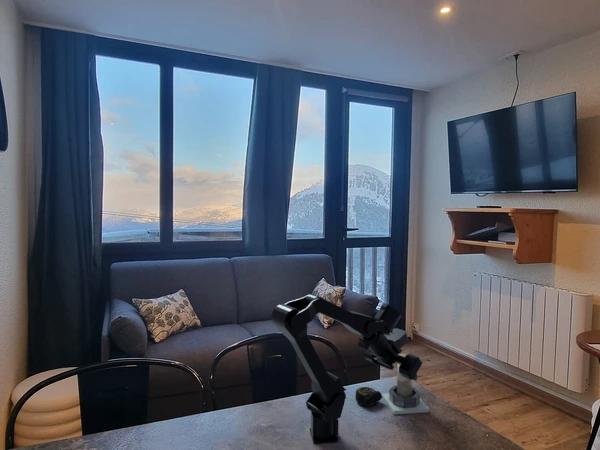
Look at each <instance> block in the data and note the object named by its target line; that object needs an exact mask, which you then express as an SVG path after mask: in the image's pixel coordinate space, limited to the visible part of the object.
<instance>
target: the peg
mask: <svg viewBox="0 0 600 450" xmlns="http://www.w3.org/2000/svg"><path fill="white" fill-rule="evenodd" d="M407 354H408V353H400V354H398V355H400V356H403V357H405V356H406V355H407ZM396 364H397V368H396V369H397V370H396V386H397V395H401V396H404V397H407V396H412V387H413V380H411V379H408V378H406V377H403V376H402V375H401V374H400V373H399V367H400V364H398V363H396Z"/></svg>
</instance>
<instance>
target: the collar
mask: <svg viewBox="0 0 600 450" xmlns="http://www.w3.org/2000/svg"><path fill="white" fill-rule="evenodd" d="M388 393H389V400H390V401H391V402H392V404H394V405H396V406H399V407H402V408H415V407H417V406H418V405H419V404H420V399H421V392H419V390H418V389H417V388H416V387H413V386H412V396H407V397H404V396H401V395H397V385H393V386H392V387H390V388H389V392H388Z"/></svg>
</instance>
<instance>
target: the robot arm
mask: <svg viewBox="0 0 600 450" xmlns="http://www.w3.org/2000/svg"><path fill="white" fill-rule="evenodd" d="M318 314H321V315H323V316H325V317H327V318H329V319H332V320H334V321H337V322H339V323H341V324H342V325H343V327H345V329H347V330H348V331H349V332H350V333H353V334H356V335H359V336H361V337H359V338H358V342H357V347H358V348H360V349H362V350H364V352H363V358H365V360H366V361H368V362H370V363H372V364H375V365H377V366H379V367H382V368H386V369H387V370H391V371H393V370H394V368H395V367H394V364H397V363H398V364H400V367H399V373H400V374H401V375H402V376H403V377H406V378H408V379H411V380H412V381H417V380H418V372H419V370H420V368H421V367H422V365H423V360H422V359H420V357H419V356H416V355H414V354H410V353H406V354H407V355H406V356H405V357H403V356H400V355H398V354H402V352H403V350H402V348H403V346H405V345H406V344H408V342H409V336H408V334H407V331H406V330H403V329H400V328H398V327H397V328H395V327H396V325H397V323H398V321H399V320H400V319H401V317H402V315H401V313H400V311H399V310H397V309H396V308H394V307H392V306H390V305H389V304H388V303H386V302H384V303H382V304H381V306H380V308H379V310H378V311H377V312H376V314H375V316H371V315H366V314H365V313H364V314H363V313H360V312H357V311H353V310H352V311H351V310H348V309H345V308H343V307H342V306H340V305H337V304H335V303H332V302H331V301H328V300H326V299H325V298H323V297H322V296H319V295H316V294H313V293H309V294H306V295H305V296H302V297H300V298H297V299H294V300H290V301H287V302H286V303H280V304H278V305H277V306H275V307H274V308H273V311H272V313H271V315H270V319H271V321H272V324H273V325H274V326H275V327H276V328H277V330H278V331H279V332H280V333H281V334H282V335H283V336H285V337H286V338H287V339H288V341H289V342H290V344H291V346H292V347H293V349H294V351H295V353H296V354H297V357H298V358H299V361H300V362H301V363H302V365H303V367H304V369H305V371H306V373H307V374H308V376H309V378H310V379H311V391H312V392H311V394H310V396H309V397H308V398H307V400H306V402H305V405H306V409H307V410H309V411H310V428H309V433H310V435H311V436H310V437H311V440H312V443H313V444H326V443H337V442H338V441H339V439H338V436H339V419H340V418H341V417H342V413H343V411H344V406H345V401H346V399H347V395H346V390H347V388H345V387H344V385H343V383H342V380H341V378H339V377H338V376H337V375H334V374H333V373H330V372H329V371H327V369H326V367H325V365H324V363H323V362H322V360H321V358H320V356H319V354H318V352H317V350H316V348H315V347H314V345H313V343H312V341H311V339H310V338H309V336H308V335H309V334H308V324H309V323H311V322H312V321H313V320H314V318H316V317H317V315H318Z"/></svg>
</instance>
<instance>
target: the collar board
mask: <svg viewBox="0 0 600 450" xmlns="http://www.w3.org/2000/svg"><path fill="white" fill-rule="evenodd" d="M381 396H382V400H383V401H384V403H385V404H386V405H387V407H388V409H389V410H390V411H391V413H392V414H393V415H405V414H419V413H421V414H422V413H430V408H429V407H428V405H427V404H426V403H425V402H424V401H423V400H422V399H421V398H420V404H419V405H418V406H417V407H415V408H402V407H399V406H396V405H394V404H392V402H391V401H390V400H389V392H387V393H381Z"/></svg>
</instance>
